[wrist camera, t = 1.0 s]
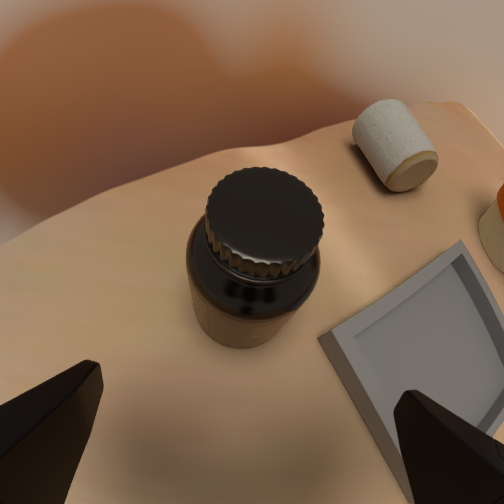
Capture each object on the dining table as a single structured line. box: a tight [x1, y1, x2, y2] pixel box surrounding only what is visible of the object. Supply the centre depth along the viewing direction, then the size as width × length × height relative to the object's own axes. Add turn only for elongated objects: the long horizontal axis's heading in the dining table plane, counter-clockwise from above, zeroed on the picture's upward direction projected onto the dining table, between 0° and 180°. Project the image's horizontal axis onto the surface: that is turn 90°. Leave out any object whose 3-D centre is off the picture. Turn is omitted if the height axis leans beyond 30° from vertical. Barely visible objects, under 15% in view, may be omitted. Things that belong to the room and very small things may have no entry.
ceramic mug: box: [352, 99, 438, 192], centre depth 29 cm, size 11×8×8 cm
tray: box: [317, 239, 504, 504], centre depth 20 cm, size 18×18×3 cm
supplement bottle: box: [186, 167, 324, 348], centre depth 17 cm, size 7×7×12 cm
